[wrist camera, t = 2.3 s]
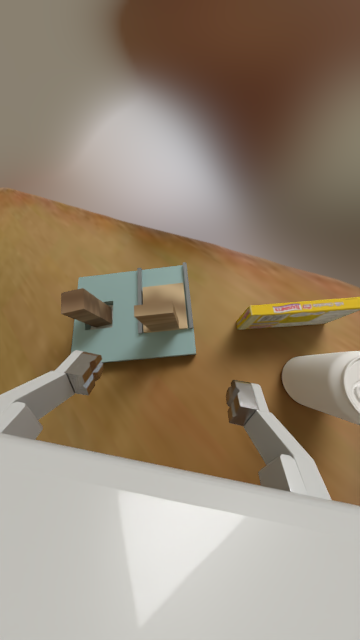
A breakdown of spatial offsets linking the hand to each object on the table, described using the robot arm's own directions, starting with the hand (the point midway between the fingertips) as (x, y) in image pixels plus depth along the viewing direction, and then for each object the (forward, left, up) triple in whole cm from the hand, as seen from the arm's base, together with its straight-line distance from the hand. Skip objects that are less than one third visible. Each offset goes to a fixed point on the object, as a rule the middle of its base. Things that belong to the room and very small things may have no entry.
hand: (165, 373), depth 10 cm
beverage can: (-17, -13, -21) cm, 30 cm away
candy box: (-8, -19, -21) cm, 29 cm away
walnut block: (+19, +4, -20) cm, 28 cm away
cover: (+10, -6, -18) cm, 22 cm away
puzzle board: (+14, -1, -21) cm, 25 cm away
